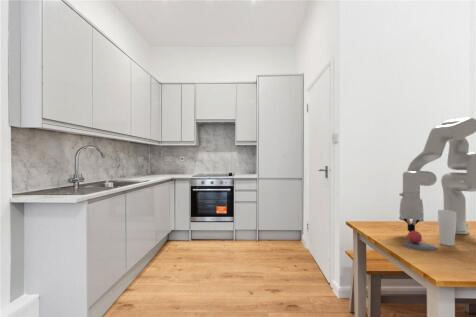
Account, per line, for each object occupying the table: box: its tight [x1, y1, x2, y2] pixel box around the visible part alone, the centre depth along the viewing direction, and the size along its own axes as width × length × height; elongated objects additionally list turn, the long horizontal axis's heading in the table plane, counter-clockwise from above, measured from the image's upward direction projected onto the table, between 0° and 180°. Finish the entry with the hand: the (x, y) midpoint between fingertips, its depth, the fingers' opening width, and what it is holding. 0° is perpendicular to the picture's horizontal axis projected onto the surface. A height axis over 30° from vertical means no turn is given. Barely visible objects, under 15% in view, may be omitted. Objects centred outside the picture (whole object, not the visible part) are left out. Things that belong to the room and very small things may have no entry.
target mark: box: [401, 241, 438, 252], centre depth 129 cm, size 13×13×1 cm
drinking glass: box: [437, 209, 457, 247], centre depth 132 cm, size 7×7×15 cm
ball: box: [407, 230, 423, 243], centre depth 135 cm, size 6×6×6 cm
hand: (411, 232), depth 150 cm, fingers closed
